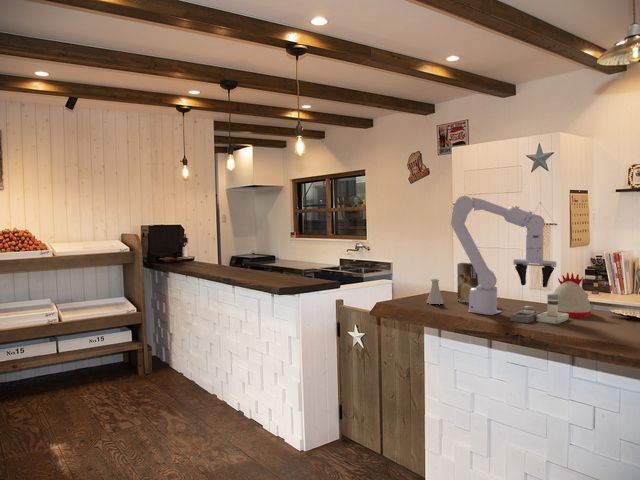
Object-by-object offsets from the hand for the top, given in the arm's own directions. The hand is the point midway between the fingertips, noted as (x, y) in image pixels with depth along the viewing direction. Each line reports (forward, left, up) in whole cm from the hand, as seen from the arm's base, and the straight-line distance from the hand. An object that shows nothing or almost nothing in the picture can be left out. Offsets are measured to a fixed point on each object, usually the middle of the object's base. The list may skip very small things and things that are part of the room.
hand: (534, 286), depth 179 cm
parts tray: (+9, -5, -10) cm, 14 cm away
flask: (-38, -5, -11) cm, 40 cm away
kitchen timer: (+8, +12, -11) cm, 18 cm away
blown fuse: (+9, -5, -10) cm, 14 cm away
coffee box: (-30, +9, -11) cm, 33 cm away
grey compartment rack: (+2, -10, -10) cm, 15 cm away
